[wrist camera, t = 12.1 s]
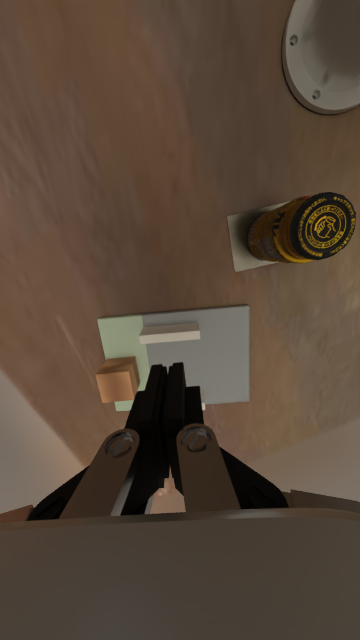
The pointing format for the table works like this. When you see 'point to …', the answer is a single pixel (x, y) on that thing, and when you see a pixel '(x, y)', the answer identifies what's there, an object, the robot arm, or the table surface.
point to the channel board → (186, 348)
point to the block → (118, 379)
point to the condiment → (292, 231)
